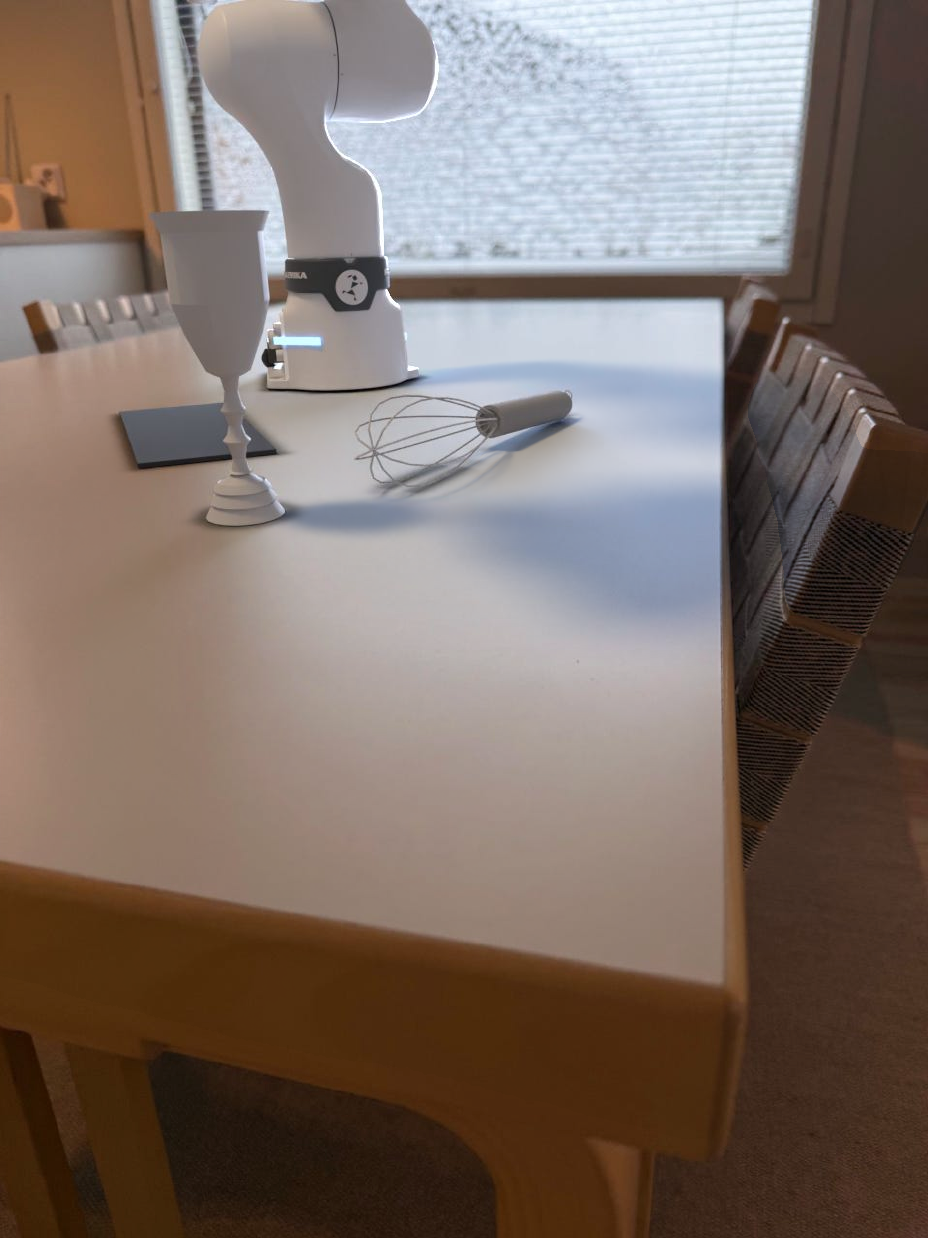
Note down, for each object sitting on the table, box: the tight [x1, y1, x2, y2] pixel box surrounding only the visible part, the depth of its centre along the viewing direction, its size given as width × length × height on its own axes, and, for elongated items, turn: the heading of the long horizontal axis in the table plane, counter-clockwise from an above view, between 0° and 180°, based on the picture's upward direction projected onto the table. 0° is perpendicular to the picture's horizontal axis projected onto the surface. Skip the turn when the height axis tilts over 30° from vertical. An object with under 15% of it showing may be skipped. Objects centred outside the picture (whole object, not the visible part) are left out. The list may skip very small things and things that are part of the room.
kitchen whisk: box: [353, 389, 573, 488], centre depth 75 cm, size 6×34×6 cm, turn 151°
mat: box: [118, 402, 278, 469], centre depth 86 cm, size 26×11×1 cm, turn 22°
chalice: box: [147, 209, 286, 527], centre depth 57 cm, size 7×7×18 cm
